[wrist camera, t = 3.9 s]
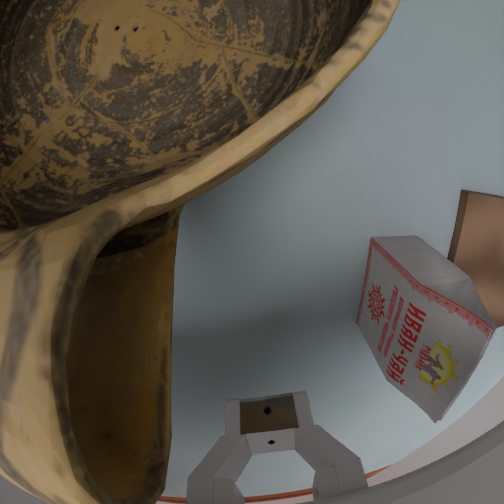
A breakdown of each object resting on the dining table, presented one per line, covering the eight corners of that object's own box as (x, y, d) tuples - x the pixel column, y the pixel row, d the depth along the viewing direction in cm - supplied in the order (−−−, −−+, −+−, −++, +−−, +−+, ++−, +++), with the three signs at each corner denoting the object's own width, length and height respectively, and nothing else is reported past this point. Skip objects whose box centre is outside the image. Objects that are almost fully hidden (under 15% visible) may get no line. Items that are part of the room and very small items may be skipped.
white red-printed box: (416, 235, 17) (516, 318, 8) (397, 316, 20) (460, 411, 11) (370, 237, 17) (469, 336, 8) (356, 322, 20) (412, 432, 11)
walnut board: (501, 321, 22) (505, 324, 21) (417, 344, 21) (421, 350, 21) (538, 204, 16) (543, 207, 16) (461, 189, 16) (468, 192, 15)
